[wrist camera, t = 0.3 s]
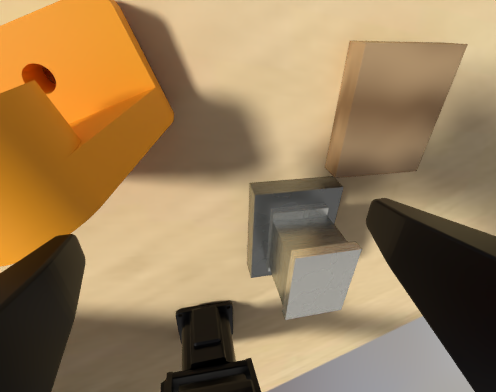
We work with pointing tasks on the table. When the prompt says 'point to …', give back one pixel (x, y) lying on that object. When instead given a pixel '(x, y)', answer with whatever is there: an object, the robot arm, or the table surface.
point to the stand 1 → (283, 196)
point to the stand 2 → (389, 105)
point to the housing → (309, 260)
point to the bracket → (70, 118)
